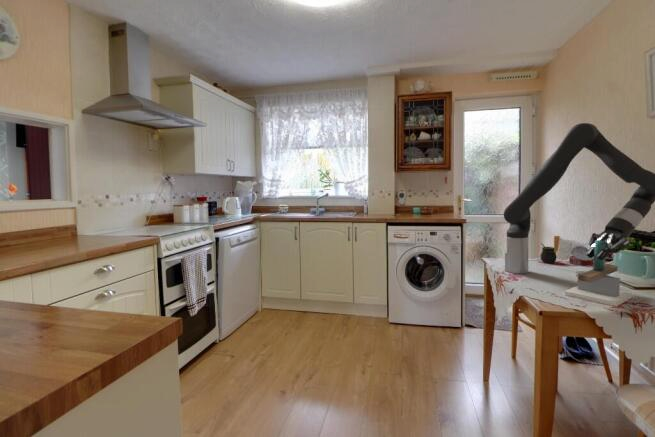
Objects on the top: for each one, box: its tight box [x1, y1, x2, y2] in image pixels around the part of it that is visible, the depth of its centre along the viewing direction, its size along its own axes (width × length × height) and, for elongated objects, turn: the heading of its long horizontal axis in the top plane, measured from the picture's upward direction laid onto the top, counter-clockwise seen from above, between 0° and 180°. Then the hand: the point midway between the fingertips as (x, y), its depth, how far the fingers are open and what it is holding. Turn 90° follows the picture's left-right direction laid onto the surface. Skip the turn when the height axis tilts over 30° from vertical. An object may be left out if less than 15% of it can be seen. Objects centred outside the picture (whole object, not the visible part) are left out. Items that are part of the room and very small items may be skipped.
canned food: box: [568, 245, 594, 267], centre depth 172 cm, size 11×10×10 cm
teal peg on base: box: [577, 240, 619, 282], centre depth 126 cm, size 4×24×13 cm, turn 122°
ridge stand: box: [564, 271, 633, 307], centre depth 127 cm, size 16×14×8 cm
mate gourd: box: [539, 242, 558, 264], centre depth 178 cm, size 7×8×10 cm
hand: (593, 257), depth 126 cm, fingers open, 3 cm apart
